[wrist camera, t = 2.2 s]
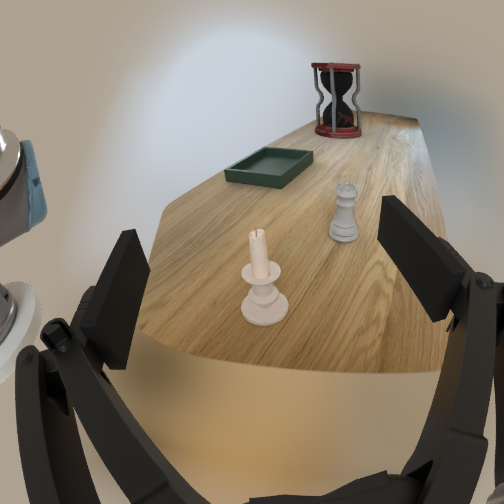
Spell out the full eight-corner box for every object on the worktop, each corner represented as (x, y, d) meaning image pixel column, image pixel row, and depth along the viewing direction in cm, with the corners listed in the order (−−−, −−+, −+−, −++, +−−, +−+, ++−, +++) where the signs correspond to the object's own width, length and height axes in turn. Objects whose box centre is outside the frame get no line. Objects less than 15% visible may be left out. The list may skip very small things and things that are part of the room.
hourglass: (321, 126, 101) (318, 62, 86) (364, 130, 94) (362, 64, 80) (309, 136, 90) (304, 62, 75) (358, 140, 83) (356, 63, 68)
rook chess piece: (335, 224, 45) (337, 177, 40) (362, 232, 42) (366, 183, 37) (323, 238, 42) (324, 188, 37) (351, 247, 39) (356, 195, 35)
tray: (281, 189, 57) (280, 176, 55) (225, 181, 63) (223, 169, 62) (313, 161, 69) (312, 151, 67) (264, 156, 75) (263, 146, 73)
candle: (240, 328, 30) (224, 247, 24) (242, 293, 35) (229, 216, 28) (290, 324, 30) (288, 241, 24) (286, 290, 34) (283, 211, 28)
